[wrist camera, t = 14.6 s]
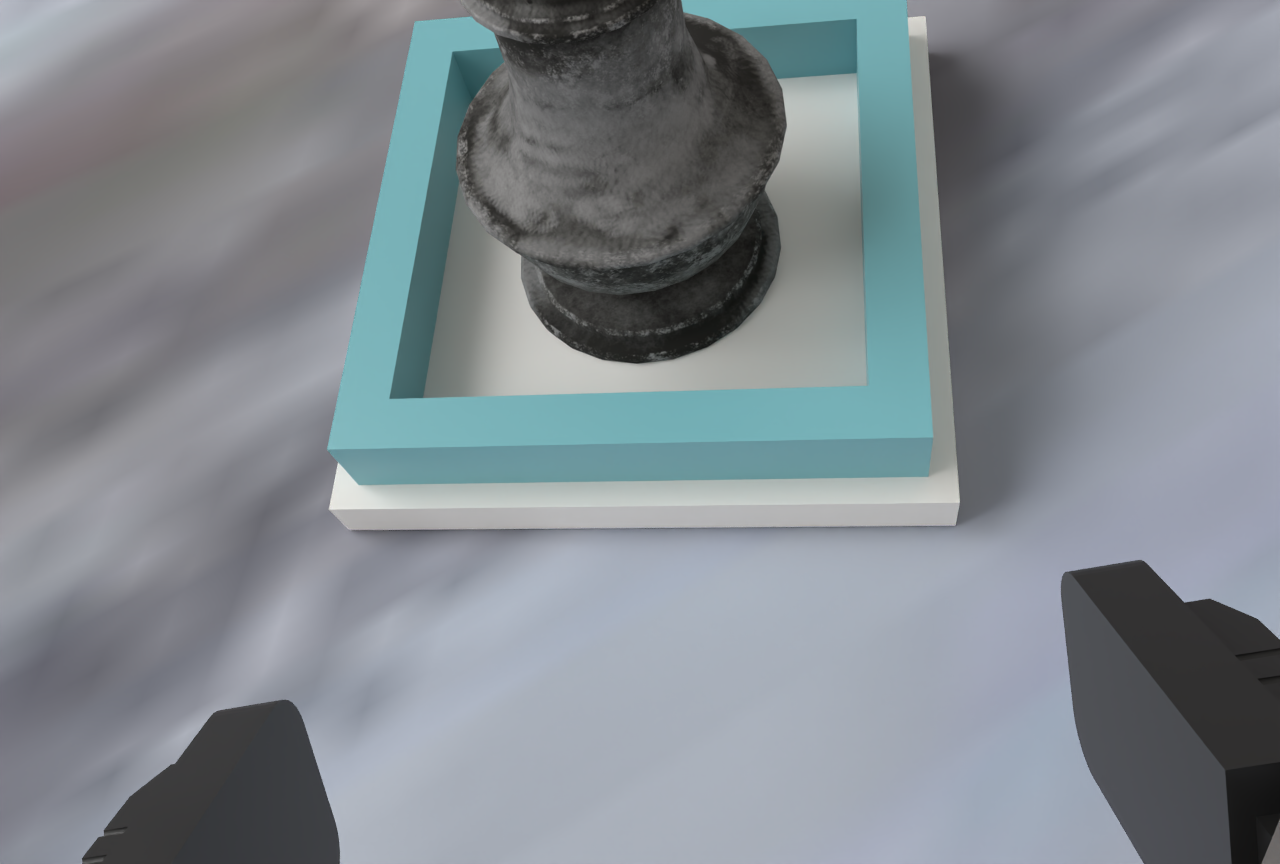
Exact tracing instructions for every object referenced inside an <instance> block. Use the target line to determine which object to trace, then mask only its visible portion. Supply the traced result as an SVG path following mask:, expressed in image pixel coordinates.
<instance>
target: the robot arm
mask: <svg viewBox="0 0 1280 864" xmlns="http://www.w3.org/2000/svg"><path fill="white" fill-rule="evenodd" d="M1061 599H1062V609H1063V618H1064V627H1065V637H1066V646H1067V655H1068V664H1069V674H1070V683H1071V692H1072V701H1073V710H1074V717H1075V723H1076V728H1077V732H1078V736H1079V740H1080V744H1081V747H1082V751H1083V754H1084V757H1085V760H1086V762H1087V765H1088V767H1089V769H1090V772H1091V774H1092V776H1093V778H1094V779H1095V781H1096V783H1097V784H1098V786H1099V788H1100V790H1101V791H1102V793H1103V795H1104V796H1105V798H1106V800H1107V801H1108V803H1109V805H1110V807H1111V808H1112V810H1113V812H1114V813H1115V815H1116V817H1117V818H1118V820H1119V822H1120V824H1121V825H1122V827H1123V829H1124V830H1125V832H1126V834H1127V836H1128V837H1129V839H1130V841H1131V842H1132V844H1133V846H1134V847H1135V849H1136V851H1137V853H1138V854H1139V856H1140V858H1141V859H1142V861H1143V863H1144V864H1280V640H1279V639H1278V638H1277V637H1276V636H1275V635H1274V634H1273V633H1272V632H1271V631H1270V630H1269V629H1268V628H1267V627H1265V626H1264V625H1263V624H1262V623H1261V622H1260V621H1259V620H1258V619H1256V618H1254V617H1252V616H1249V615H1247V614H1245V613H1242V612H1240V611H1238V610H1235V609H1233V608H1231V607H1228V606H1226V605H1223V604H1221V603H1219V602H1216V601H1214V600H1212V599H1205V600H1199V601H1193V602H1186V603H1184V602H1183V601H1182V600H1181V599H1180V598H1179V597H1178V596H1177V595H1176V594H1175V592H1174V591H1173V590H1172V589H1171V588H1170V587H1169V586H1168V585H1167V584H1166V583H1165V582H1164V581H1163V580H1162V579H1161V578H1160V577H1159V576H1158V575H1157V574H1156V573H1155V572H1154V571H1153V570H1152V569H1151V567H1150V566H1149V565H1148V564H1147V563H1145V562H1144V561H1142V560H1136V561H1130V562H1124V563H1118V564H1112V565H1106V566H1100V567H1094V568H1088V569H1082V570H1076V571H1069V572H1065V573H1064V574H1063V576H1062V581H1061ZM82 861H83V863H82V864H339V863H340V849H339V838H338V832H337V827H336V823H335V820H334V817H333V813H332V810H331V807H330V804H329V801H328V798H327V795H326V791H325V788H324V785H323V782H322V779H321V776H320V772H319V769H318V766H317V763H316V760H315V757H314V753H313V750H312V747H311V744H310V741H309V738H308V735H307V731H306V728H305V725H304V722H303V719H302V717H301V715H300V713H299V711H298V709H297V708H296V706H295V705H294V704H293V703H292V702H290V701H289V700H279V701H273V702H267V703H261V704H255V705H249V706H243V707H237V708H231V709H225V710H219V711H217V712H215V713H213V715H212V716H211V717H210V718H209V719H208V721H207V722H206V723H205V725H204V726H203V727H202V729H201V730H200V731H199V733H198V734H197V735H196V737H195V738H194V739H193V741H192V742H191V743H190V745H189V746H188V747H187V749H186V750H185V751H184V753H183V754H182V755H181V757H180V758H179V759H178V761H177V762H176V763H175V764H172V765H170V766H169V767H168V768H166V769H165V770H164V771H162V772H161V773H160V774H159V775H157V776H156V777H155V778H153V779H152V780H151V781H150V782H148V783H147V784H146V785H144V786H143V787H142V788H141V789H139V790H138V791H137V792H135V793H134V794H133V795H132V796H130V797H129V799H128V800H127V801H126V802H125V804H124V805H123V806H122V808H121V809H120V810H119V811H118V813H117V814H116V815H115V817H114V818H113V819H112V820H111V822H110V823H109V824H108V826H107V827H106V828H105V830H104V836H103V837H98V839H97V840H96V841H95V842H94V844H93V845H92V846H91V848H90V849H89V850H88V851H87V853H86V854H85V855H84V857H83V858H82Z"/></svg>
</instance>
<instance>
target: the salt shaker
mask: <svg viewBox="0 0 1280 864" xmlns="http://www.w3.org/2000/svg"><path fill="white" fill-rule="evenodd" d="M460 1H461V4H462V5H463V7H464V8H465V9H466V10H467V11H468V13H469V14H470V15H471V16H472V17H473V19H474V20H475V21H476V22H477V23H479V24H481V25H482V26H484V27H485V28H487V29H489V30H490V31H492V32H494V34H495V37H496V40H497V43H498V46H499V48H500V51H501V54H502V57H503V60H504V63H502V64H501V65H500V66H499V67H498V68H497V69H496V70H495V71H493V72H492V73H491V75H490V76H489V78H488V79H487V80H486V82H485V83H484V85H483V86H482V87H481V89H480V90H479V92H478V93H477V94H476V96H475V97H474V99H473V100H472V101H471V103H470V104H469V107H468V110H467V112H466V115H465V118H464V120H463V123H462V126H461V128H460V131H459V134H458V137H457V156H456V172H457V175H458V179H459V182H460V185H461V189H462V192H463V195H464V199H465V202H466V204H467V206H468V207H469V208H470V210H471V211H472V212H473V214H474V215H475V216H476V218H477V219H478V220H479V222H480V223H481V224H482V226H483V227H484V228H485V230H486V231H487V232H488V233H489V234H490V235H492V236H493V237H495V238H496V239H497V240H499V241H500V242H502V243H503V244H505V245H506V246H507V247H509V248H510V249H512V250H513V251H515V252H516V253H517V254H520V255H521V280H522V283H523V286H524V289H525V292H526V295H527V299H528V302H529V305H530V307H531V309H532V310H533V311H534V313H535V314H536V315H537V317H538V318H539V319H540V321H541V322H542V324H543V325H544V326H545V328H546V329H547V330H548V331H549V332H550V333H552V334H553V335H554V336H556V337H557V338H558V339H560V340H561V341H563V342H564V343H565V344H567V345H568V346H569V347H571V348H572V349H575V350H577V351H580V352H583V353H585V354H588V355H591V356H593V357H596V358H599V359H601V360H607V361H617V362H626V363H635V364H639V363H648V362H656V361H665V360H673V359H676V358H679V357H681V356H684V355H687V354H690V353H693V352H695V351H698V350H701V349H704V348H707V347H708V346H710V345H712V344H713V343H715V342H716V341H718V340H719V339H721V338H723V337H724V336H726V335H727V334H729V333H730V332H732V331H734V330H735V329H737V328H738V327H739V326H740V325H741V324H742V323H743V322H744V320H745V319H746V318H747V317H748V316H749V315H750V314H751V313H752V312H753V311H754V310H755V309H756V308H757V307H758V306H759V305H760V304H761V302H762V300H763V298H764V296H765V294H766V293H767V291H768V289H769V287H770V285H771V283H772V282H773V280H774V278H775V275H776V270H777V266H778V261H779V256H780V251H781V242H780V233H779V225H778V216H777V214H776V212H775V210H774V208H773V206H772V204H771V202H770V200H769V197H768V195H767V193H766V191H765V187H766V184H767V182H768V180H769V179H770V177H771V175H772V173H773V172H774V170H775V168H776V166H777V165H778V163H779V161H780V156H781V151H782V147H783V142H784V138H785V133H786V128H787V121H786V114H785V106H784V98H783V91H782V87H781V85H780V84H779V82H778V80H777V78H776V76H775V74H774V72H773V70H772V68H771V66H770V64H769V62H768V60H767V59H766V58H765V57H764V56H763V55H762V54H761V53H760V52H759V51H758V50H757V49H756V48H754V47H753V46H752V45H751V44H750V43H749V42H748V41H747V40H746V39H745V38H744V37H743V36H742V35H740V34H738V33H736V32H734V31H732V30H730V29H728V28H726V27H724V26H723V25H721V24H719V23H717V22H715V21H713V20H711V19H709V18H705V17H701V16H697V15H693V14H689V13H685V12H683V7H682V1H681V0H460Z"/></svg>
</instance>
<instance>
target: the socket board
mask: <svg viewBox="0 0 1280 864" xmlns="http://www.w3.org/2000/svg"><path fill="white" fill-rule="evenodd" d="M681 1H682V7H683V12H685V13H689V14H693V15H697V16H701V17H705V18H709V19H711V20H713V21H715V22H717V23H719V24H721V25H723V26H724V27H726V28H728V29H730V30H732V31H734V32H736V33H738V34H740V35H742V36H743V37H744V38H745V39H746V40H747V41H748V42H749V43H750V44H751V45H752V46H753V47H754V48H756V49H757V50H758V51H759V52H760V53H761V54H762V55H763V56H764V57H765V58H766V59H767V60H768V62H769V64H770V66H771V68H772V70H773V72H774V74H775V76H776V78H777V80H778V82H779V84H780V85H781V87H782V91H783V98H784V106H785V114H786V121H787V128H786V133H785V138H784V142H783V147H782V151H781V156H780V161H779V163H778V165H777V166H776V168H775V170H774V172H773V173H772V175H771V177H770V179H769V180H768V182H767V184H766V187H765V191H766V193H767V195H768V197H769V200H770V202H771V204H772V206H773V208H774V210H775V212H776V214H777V216H778V225H779V233H780V242H781V251H780V256H779V261H778V266H777V270H776V275H775V278H774V280H773V282H772V283H771V285H770V287H769V289H768V291H767V293H766V294H765V296H764V298H763V300H762V302H761V304H760V305H759V306H758V307H757V308H756V309H755V310H754V311H753V312H752V313H751V314H750V315H749V316H748V317H747V318H746V319H745V320H744V322H743V323H742V324H741V325H740V326H739V327H738V328H737V329H735V330H734V331H732V332H730V333H729V334H727V335H726V336H724V337H723V338H721V339H719V340H718V341H716V342H715V343H713V344H712V345H710V346H708V347H707V348H704V349H701V350H698V351H695V352H693V353H690V354H687V355H684V356H681V357H679V358H676V359H673V360H665V361H656V362H648V363H639V364H635V363H626V362H617V361H607V360H601V359H599V358H596V357H593V356H591V355H588V354H585V353H583V352H580V351H577V350H575V349H572V348H571V347H569V346H568V345H567V344H565V343H564V342H563V341H561V340H560V339H558V338H557V337H556V336H554V335H553V334H552V333H550V332H549V331H548V330H547V329H546V328H545V326H544V325H543V324H542V322H541V321H540V319H539V318H538V317H537V315H536V314H535V313H534V311H533V310H532V309H531V307H530V305H529V302H528V299H527V295H526V292H525V289H524V286H523V283H522V280H521V255H520V254H517V253H516V252H515V251H513V250H512V249H510V248H509V247H507V246H506V245H505V244H503V243H502V242H500V241H499V240H497V239H496V238H495V237H493V236H492V235H490V234H489V233H488V232H487V231H486V230H485V228H484V227H483V226H482V224H481V223H480V222H479V220H478V219H477V218H476V216H475V215H474V214H473V212H472V211H471V210H470V208H469V207H468V206H467V204H466V202H465V199H464V195H463V192H462V189H461V185H460V182H459V179H458V175H457V172H456V156H457V137H458V134H459V131H460V128H461V126H462V123H463V120H464V118H465V115H466V112H467V110H468V107H469V104H470V103H471V101H472V100H473V99H474V97H475V96H476V94H477V93H478V92H479V90H480V89H481V87H482V86H483V85H484V83H485V82H486V80H487V79H488V78H489V76H490V75H491V73H492V72H493V71H495V70H496V69H497V68H498V67H499V66H500V65H501V64H502V63H504V60H503V57H502V54H501V51H500V48H499V46H498V43H497V40H496V37H495V34H494V32H492V31H490V30H489V29H487V28H485V27H484V26H482V25H481V24H479V23H477V22H476V21H475V20H474V19H473V17H461V18H450V19H438V20H427V21H415V24H414V29H413V34H412V38H411V43H410V48H409V53H408V58H407V63H406V68H405V73H404V77H403V82H402V87H401V92H400V97H399V102H398V107H397V111H396V116H395V121H394V126H393V131H392V136H391V141H390V146H389V150H388V155H387V160H386V165H385V170H384V175H383V180H382V185H381V189H380V194H379V199H378V204H377V209H376V214H375V219H374V223H373V228H372V233H371V238H370V243H369V248H368V253H367V258H366V262H365V267H364V272H363V277H362V282H361V287H360V292H359V297H358V301H357V306H356V311H355V316H354V321H353V326H352V331H351V335H350V340H349V345H348V350H347V355H346V360H345V365H344V370H343V374H342V379H341V384H340V389H339V394H338V399H337V404H336V409H335V413H334V418H333V423H332V428H331V433H330V438H329V443H328V447H327V450H328V451H329V452H330V453H331V455H332V456H333V457H334V458H335V459H336V460H337V461H338V466H337V471H336V476H335V481H334V487H333V492H332V497H331V502H330V507H329V510H330V511H331V512H332V513H333V514H334V515H335V516H336V517H337V518H338V519H339V520H340V521H341V522H342V523H343V524H344V525H345V526H346V527H347V528H348V530H439V529H574V528H709V527H844V526H956V521H957V516H958V510H959V505H960V497H959V483H958V469H957V455H956V440H955V426H954V412H953V398H952V384H951V370H950V356H949V341H948V327H947V313H946V299H945V285H944V271H943V256H942V242H941V228H940V214H939V200H938V186H937V172H936V157H935V143H934V129H933V115H932V101H931V87H930V72H929V58H928V44H927V30H926V16H921V17H909V18H908V15H907V0H681Z"/></svg>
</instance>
